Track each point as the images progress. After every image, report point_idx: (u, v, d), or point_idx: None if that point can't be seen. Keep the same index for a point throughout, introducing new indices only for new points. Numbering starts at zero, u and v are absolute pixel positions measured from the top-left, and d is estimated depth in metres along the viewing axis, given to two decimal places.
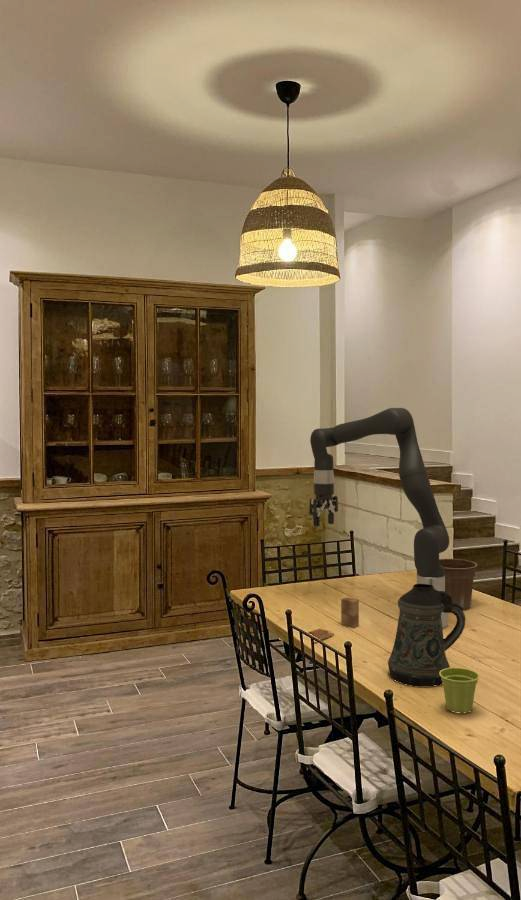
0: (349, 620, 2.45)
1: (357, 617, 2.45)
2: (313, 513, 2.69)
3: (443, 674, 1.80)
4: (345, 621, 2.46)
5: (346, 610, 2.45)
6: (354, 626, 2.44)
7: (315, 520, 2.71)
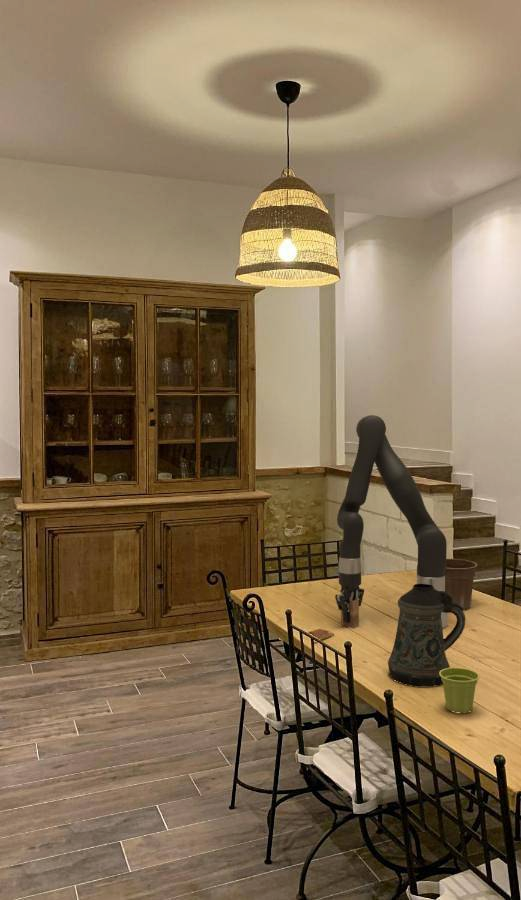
0: None
1: (357, 617, 2.45)
2: (343, 610, 2.42)
3: (443, 674, 1.80)
4: None
5: None
6: (354, 626, 2.44)
7: (345, 616, 2.44)
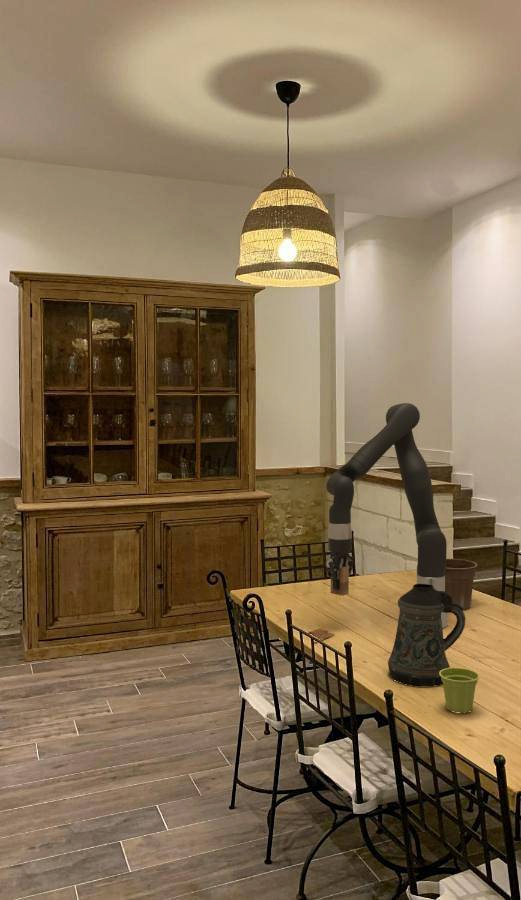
0: None
1: (347, 584, 2.39)
2: (332, 576, 2.36)
3: (443, 674, 1.80)
4: None
5: None
6: (344, 593, 2.38)
7: (335, 583, 2.38)
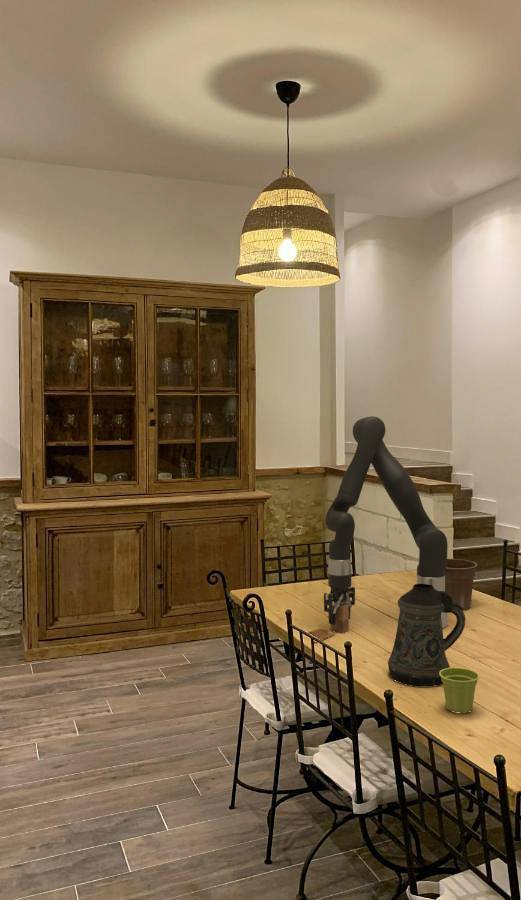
0: (339, 625, 2.39)
1: (347, 622, 2.40)
2: (328, 610, 2.35)
3: (443, 674, 1.80)
4: (335, 627, 2.40)
5: (336, 615, 2.40)
6: (344, 631, 2.39)
7: (331, 617, 2.37)
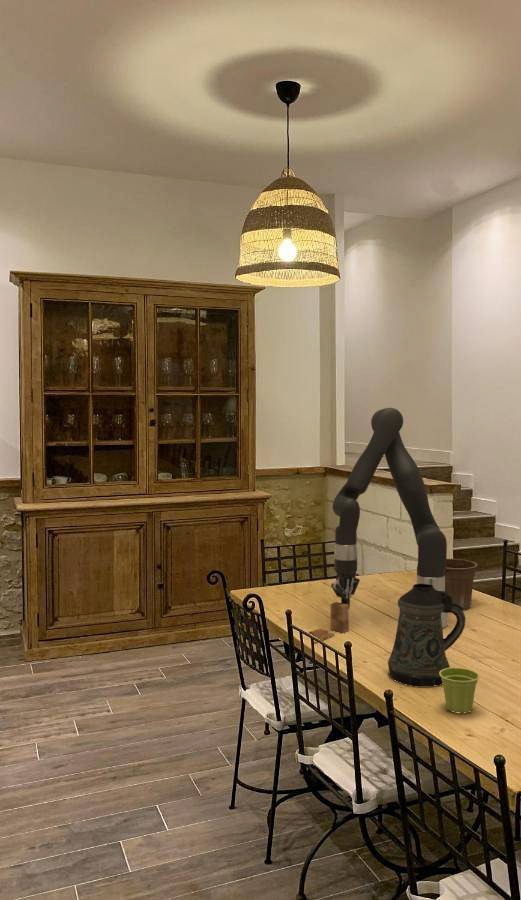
0: (339, 625, 2.39)
1: (347, 622, 2.40)
2: (341, 596, 2.40)
3: (443, 674, 1.80)
4: (335, 627, 2.40)
5: (336, 615, 2.40)
6: (344, 631, 2.39)
7: (343, 602, 2.42)
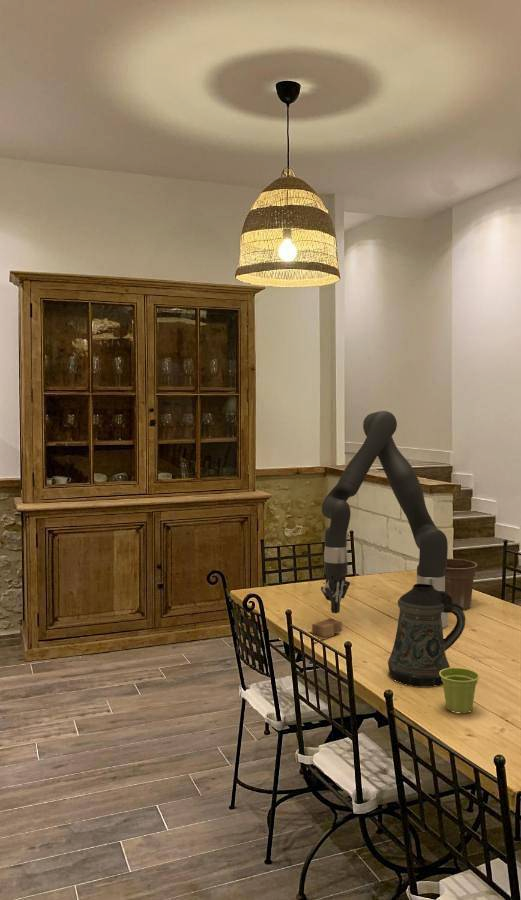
0: None
1: (335, 625, 2.35)
2: (331, 600, 2.36)
3: (443, 674, 1.80)
4: None
5: None
6: (340, 629, 2.37)
7: (333, 606, 2.38)
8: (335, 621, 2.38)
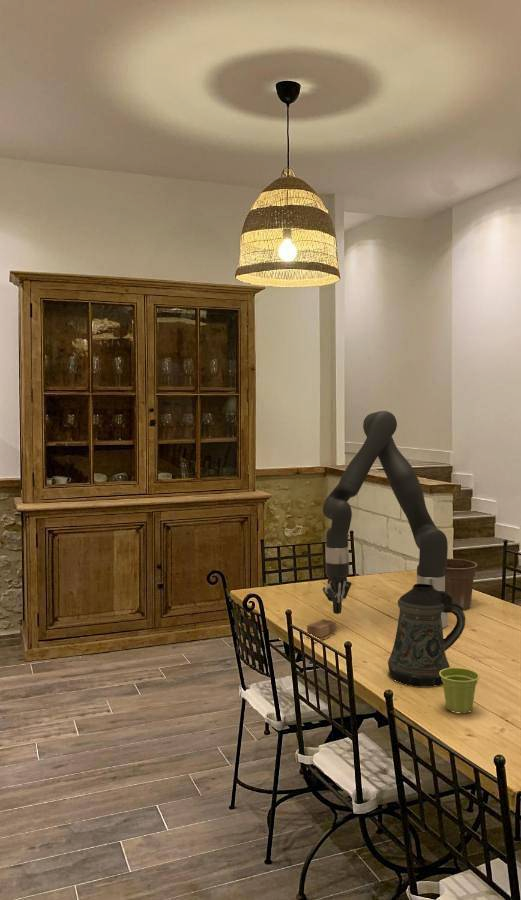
0: None
1: (330, 626, 2.35)
2: (333, 600, 2.36)
3: (443, 674, 1.80)
4: None
5: None
6: (335, 629, 2.37)
7: (335, 607, 2.38)
8: (329, 622, 2.38)
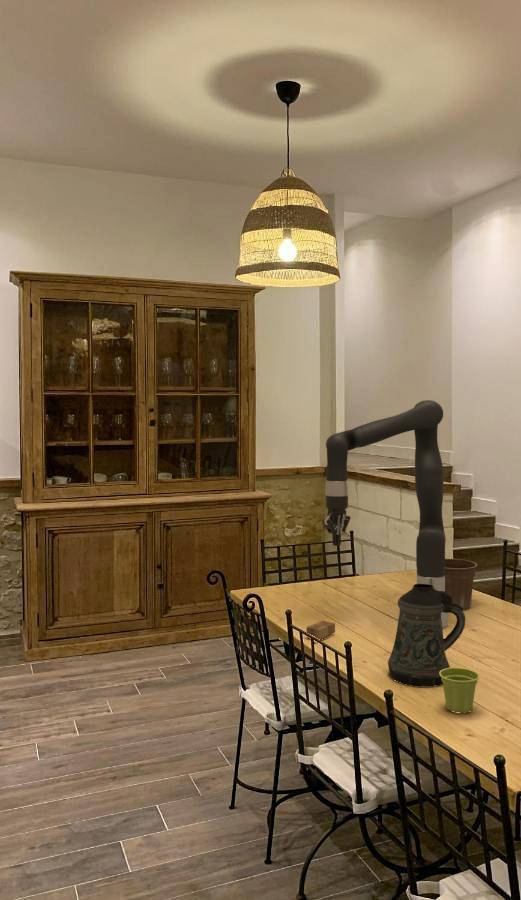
0: None
1: (329, 627, 2.34)
2: (332, 532, 2.43)
3: (443, 674, 1.80)
4: None
5: None
6: (334, 630, 2.36)
7: (334, 539, 2.45)
8: (328, 623, 2.37)
